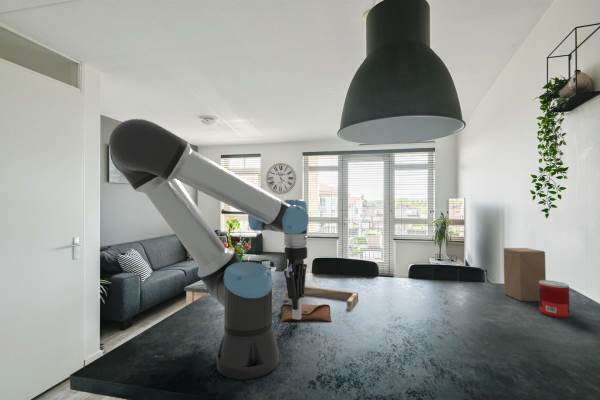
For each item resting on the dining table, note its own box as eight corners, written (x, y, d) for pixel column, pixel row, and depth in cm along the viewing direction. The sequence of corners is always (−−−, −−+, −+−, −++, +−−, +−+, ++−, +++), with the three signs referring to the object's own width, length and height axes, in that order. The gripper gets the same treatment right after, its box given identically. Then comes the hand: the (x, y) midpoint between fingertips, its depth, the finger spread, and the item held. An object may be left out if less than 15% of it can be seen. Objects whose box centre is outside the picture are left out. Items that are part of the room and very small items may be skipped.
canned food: (575, 319, 96) (574, 286, 96) (548, 317, 97) (547, 285, 98) (559, 311, 103) (559, 280, 104) (534, 309, 105) (534, 279, 105)
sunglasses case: (278, 322, 94) (279, 301, 98) (280, 325, 100) (280, 305, 104) (333, 322, 94) (332, 301, 98) (331, 325, 100) (330, 305, 104)
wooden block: (546, 301, 113) (545, 251, 114) (521, 301, 114) (520, 251, 114) (527, 294, 123) (526, 247, 124) (503, 294, 124) (502, 247, 124)
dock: (350, 309, 105) (350, 301, 106) (285, 300, 117) (285, 292, 117) (358, 300, 116) (358, 292, 116) (297, 292, 127) (297, 285, 128)
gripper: (297, 249, 87) (298, 328, 86) (313, 244, 98) (314, 313, 98) (276, 248, 90) (277, 324, 89) (294, 243, 102) (295, 309, 101)
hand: (296, 318), depth 94 cm, fingers closed
